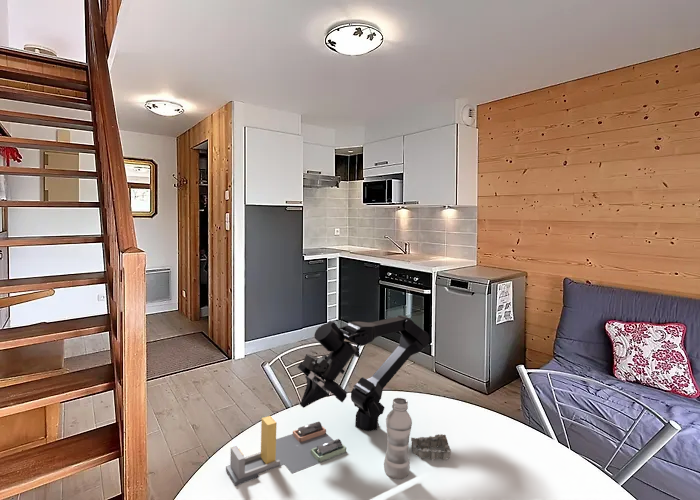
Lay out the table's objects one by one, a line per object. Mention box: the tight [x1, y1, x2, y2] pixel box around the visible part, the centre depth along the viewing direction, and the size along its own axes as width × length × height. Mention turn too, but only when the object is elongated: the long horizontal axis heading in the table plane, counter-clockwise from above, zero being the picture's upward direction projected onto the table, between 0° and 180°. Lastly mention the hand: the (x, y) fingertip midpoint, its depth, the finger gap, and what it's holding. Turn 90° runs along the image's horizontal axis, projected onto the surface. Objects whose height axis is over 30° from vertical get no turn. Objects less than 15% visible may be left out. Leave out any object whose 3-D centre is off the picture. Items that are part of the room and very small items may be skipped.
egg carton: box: [410, 433, 452, 461], centre depth 114 cm, size 11×8×4 cm
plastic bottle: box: [383, 397, 413, 480], centre depth 103 cm, size 6×7×20 cm
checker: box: [225, 425, 348, 486], centre depth 109 cm, size 30×16×6 cm, turn 125°
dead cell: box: [297, 421, 323, 437], centre depth 119 cm, size 7×3×3 cm, turn 125°
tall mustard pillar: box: [260, 415, 277, 464], centre depth 105 cm, size 2×4×11 cm, turn 35°
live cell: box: [316, 438, 343, 457], centre depth 110 cm, size 7×3×3 cm, turn 125°
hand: (301, 406), depth 110 cm, fingers closed
